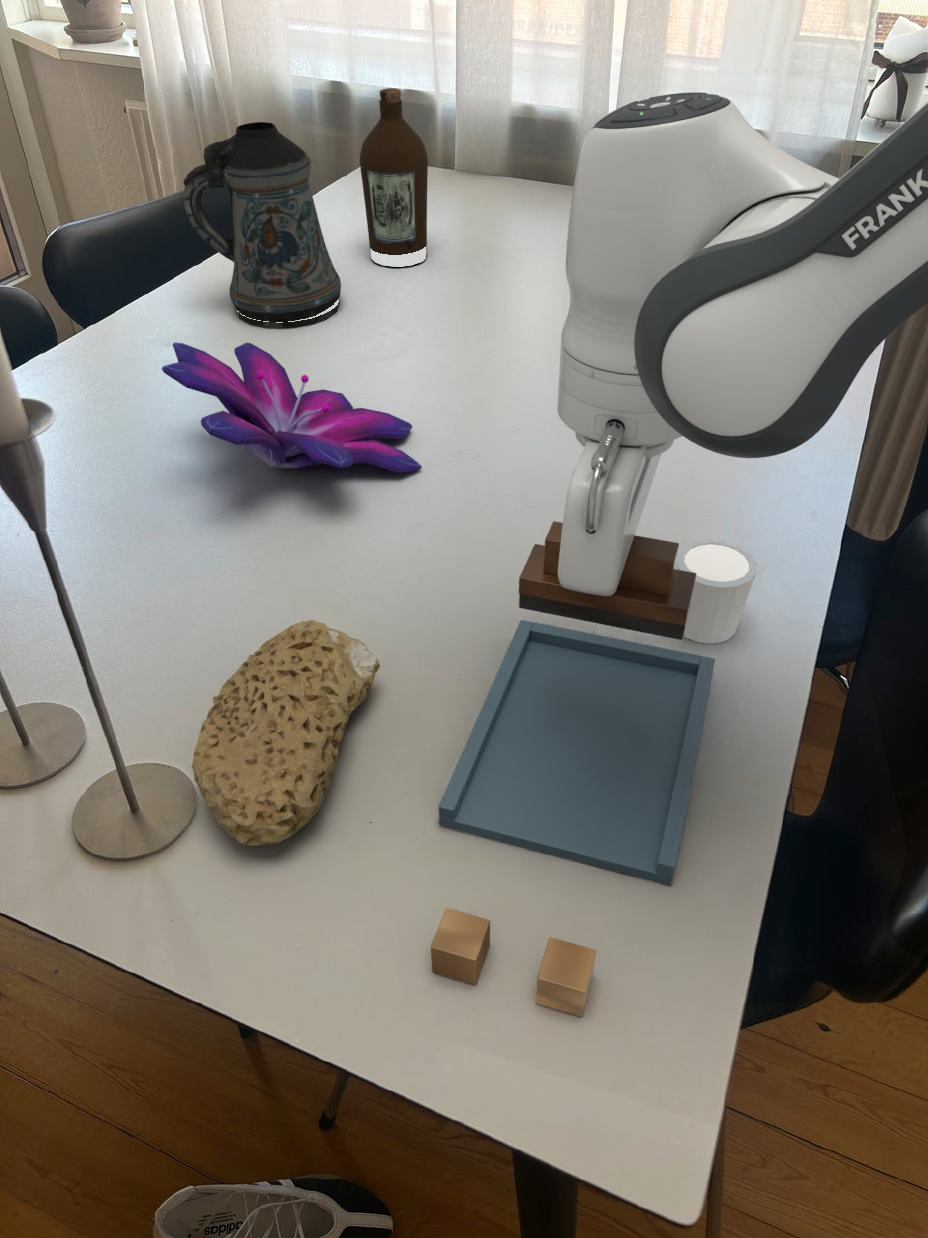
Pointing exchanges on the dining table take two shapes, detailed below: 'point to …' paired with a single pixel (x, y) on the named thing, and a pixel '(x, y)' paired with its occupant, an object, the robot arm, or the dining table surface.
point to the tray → (584, 751)
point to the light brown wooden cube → (565, 976)
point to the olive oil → (394, 181)
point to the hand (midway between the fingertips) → (609, 566)
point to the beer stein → (267, 228)
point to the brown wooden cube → (460, 946)
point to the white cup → (716, 588)
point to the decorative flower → (288, 414)
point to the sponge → (280, 731)
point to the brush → (642, 597)
